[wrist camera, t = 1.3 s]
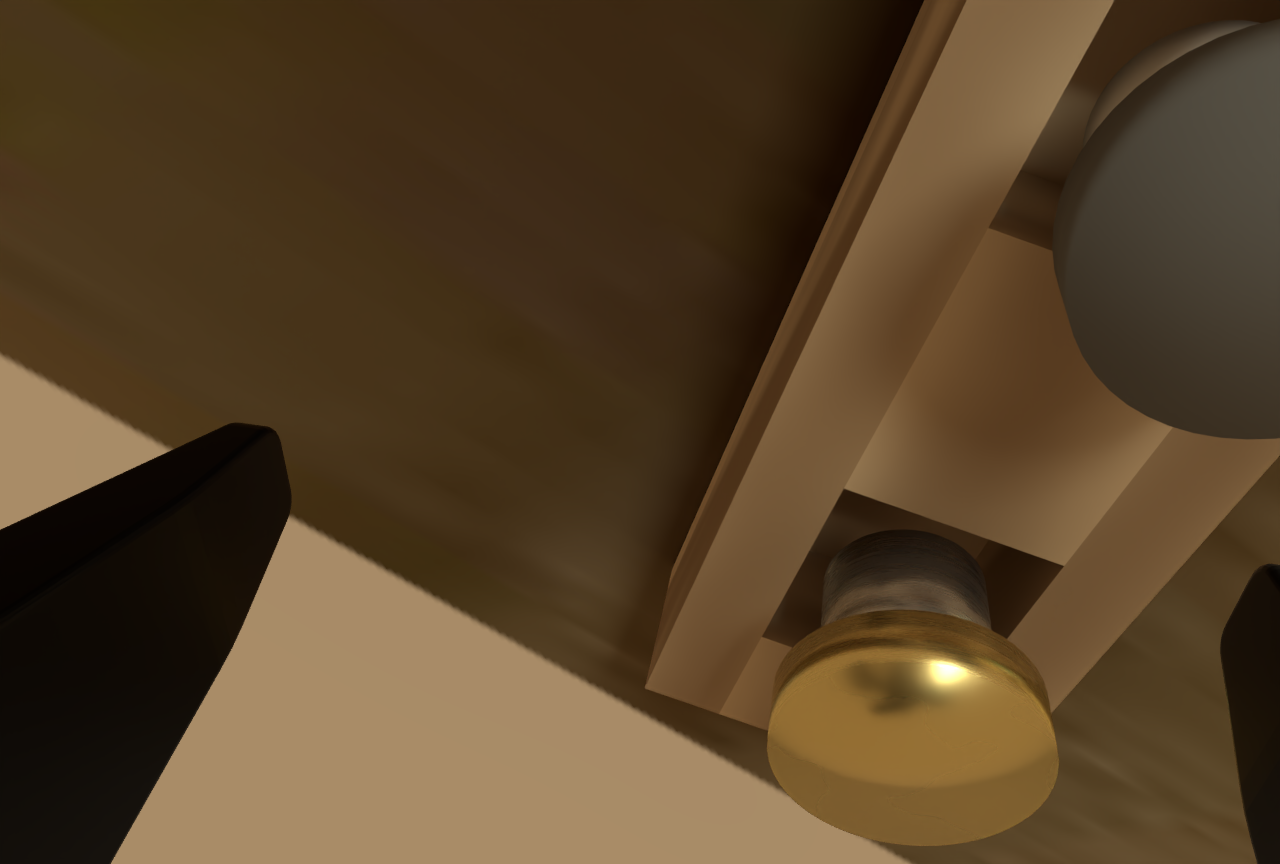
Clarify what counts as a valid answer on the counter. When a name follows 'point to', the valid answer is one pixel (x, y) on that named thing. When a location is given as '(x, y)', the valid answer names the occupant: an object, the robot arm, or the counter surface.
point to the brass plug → (911, 702)
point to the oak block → (952, 376)
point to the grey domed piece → (1182, 232)
